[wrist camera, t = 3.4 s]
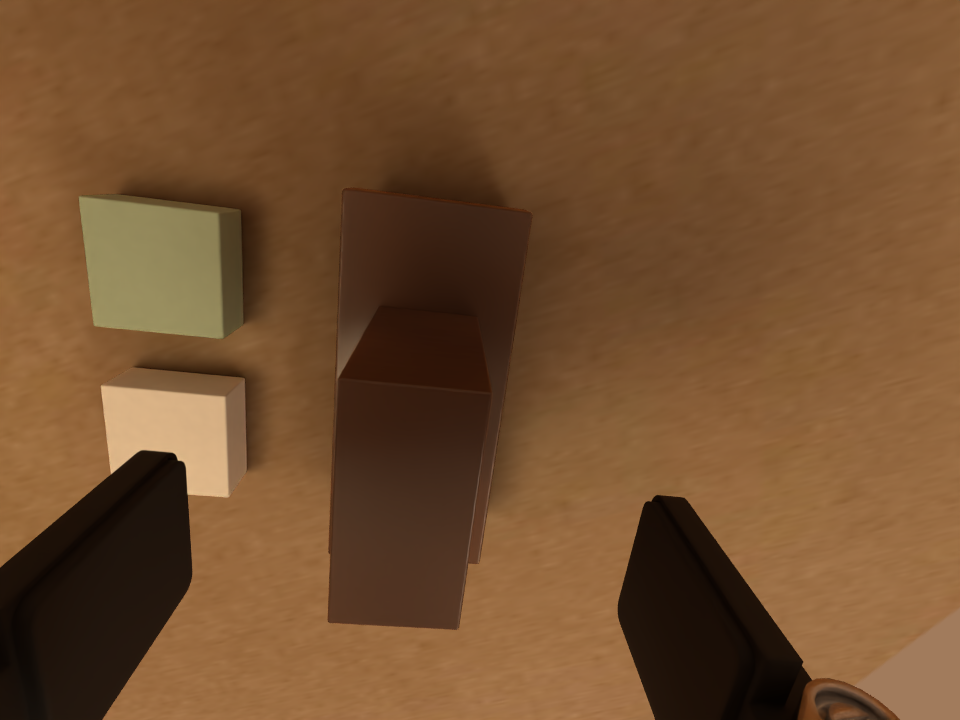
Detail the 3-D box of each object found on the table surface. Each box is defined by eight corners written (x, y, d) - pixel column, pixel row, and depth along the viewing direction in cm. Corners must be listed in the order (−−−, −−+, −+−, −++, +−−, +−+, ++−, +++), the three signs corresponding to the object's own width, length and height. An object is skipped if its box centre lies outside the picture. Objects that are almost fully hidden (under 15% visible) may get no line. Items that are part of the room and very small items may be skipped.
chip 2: (140, 463, 20) (111, 489, 18) (131, 366, 19) (99, 385, 17) (247, 471, 20) (229, 498, 19) (245, 377, 19) (225, 396, 17)
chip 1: (125, 313, 18) (92, 326, 16) (114, 193, 17) (77, 195, 15) (244, 325, 19) (223, 339, 17) (242, 209, 17) (218, 212, 16)
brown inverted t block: (344, 504, 21) (273, 723, 13) (359, 186, 17) (271, 194, 9) (475, 514, 22) (491, 730, 13) (520, 207, 18) (584, 233, 9)
